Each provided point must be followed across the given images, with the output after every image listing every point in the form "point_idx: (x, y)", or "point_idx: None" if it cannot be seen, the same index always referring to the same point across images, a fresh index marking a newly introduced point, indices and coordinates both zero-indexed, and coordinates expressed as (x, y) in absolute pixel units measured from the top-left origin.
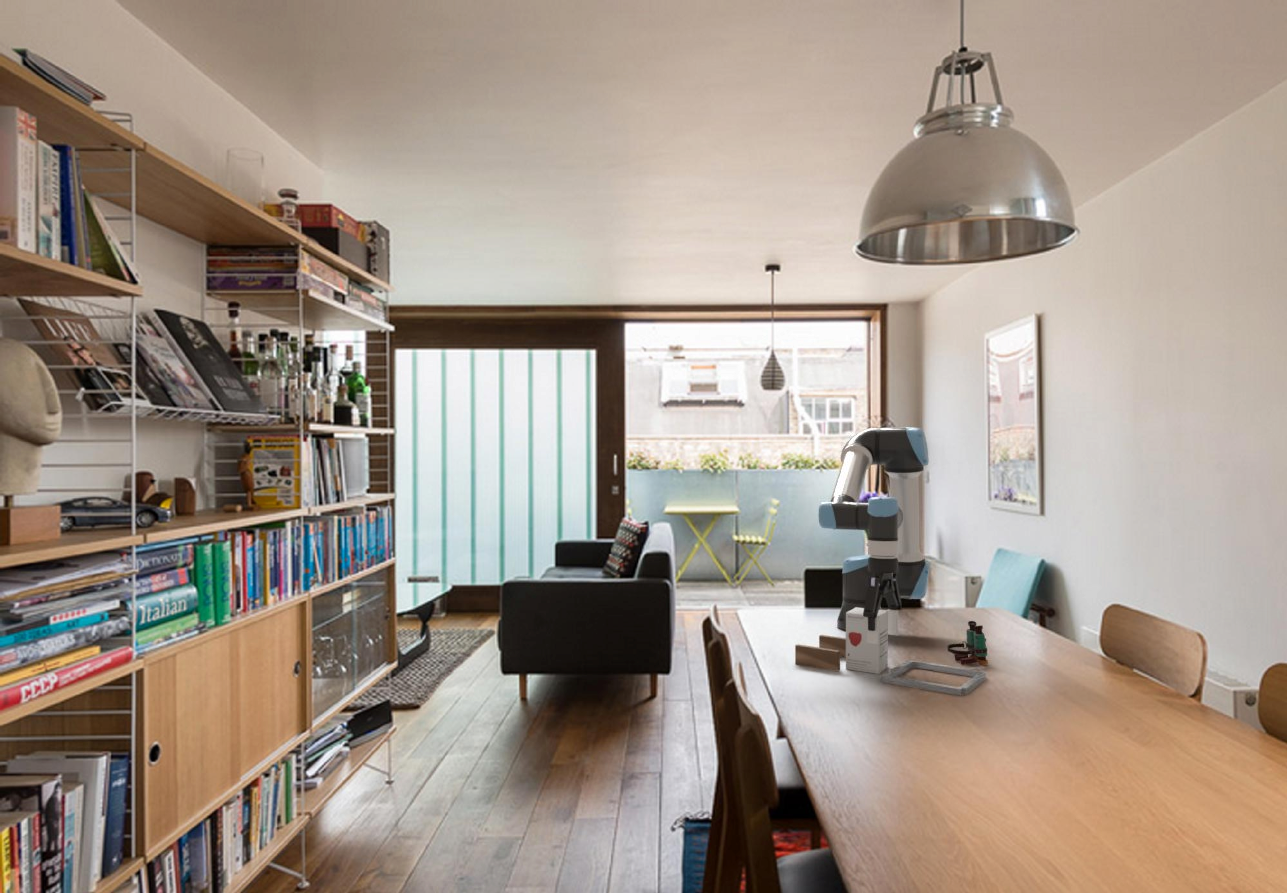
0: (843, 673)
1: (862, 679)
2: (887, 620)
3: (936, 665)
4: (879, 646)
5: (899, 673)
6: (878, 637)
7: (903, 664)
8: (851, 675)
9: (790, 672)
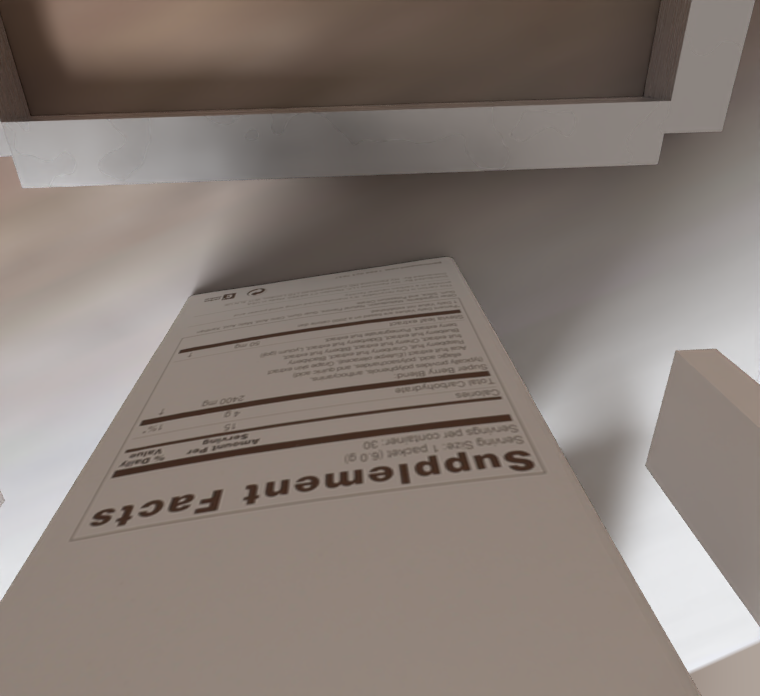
0: (565, 435)
1: (660, 286)
2: (13, 663)
3: None
4: (497, 364)
5: (378, 106)
6: (730, 399)
7: (182, 151)
8: (589, 382)
9: (681, 610)
